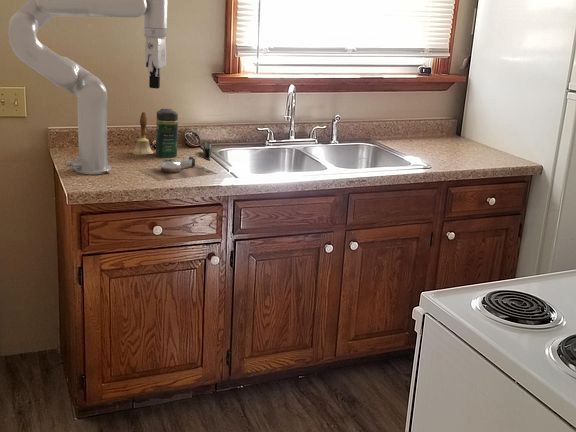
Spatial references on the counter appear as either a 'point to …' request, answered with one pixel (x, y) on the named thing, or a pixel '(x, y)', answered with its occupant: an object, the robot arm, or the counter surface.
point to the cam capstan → (176, 164)
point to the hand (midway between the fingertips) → (154, 87)
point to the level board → (178, 173)
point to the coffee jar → (166, 133)
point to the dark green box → (207, 150)
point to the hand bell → (142, 139)
